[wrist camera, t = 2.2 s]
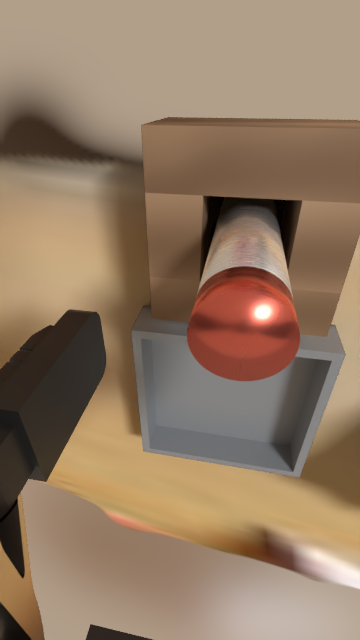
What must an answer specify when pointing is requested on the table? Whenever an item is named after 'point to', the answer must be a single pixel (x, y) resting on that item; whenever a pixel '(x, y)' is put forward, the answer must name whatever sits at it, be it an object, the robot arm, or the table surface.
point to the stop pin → (245, 296)
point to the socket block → (252, 182)
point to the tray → (230, 401)
